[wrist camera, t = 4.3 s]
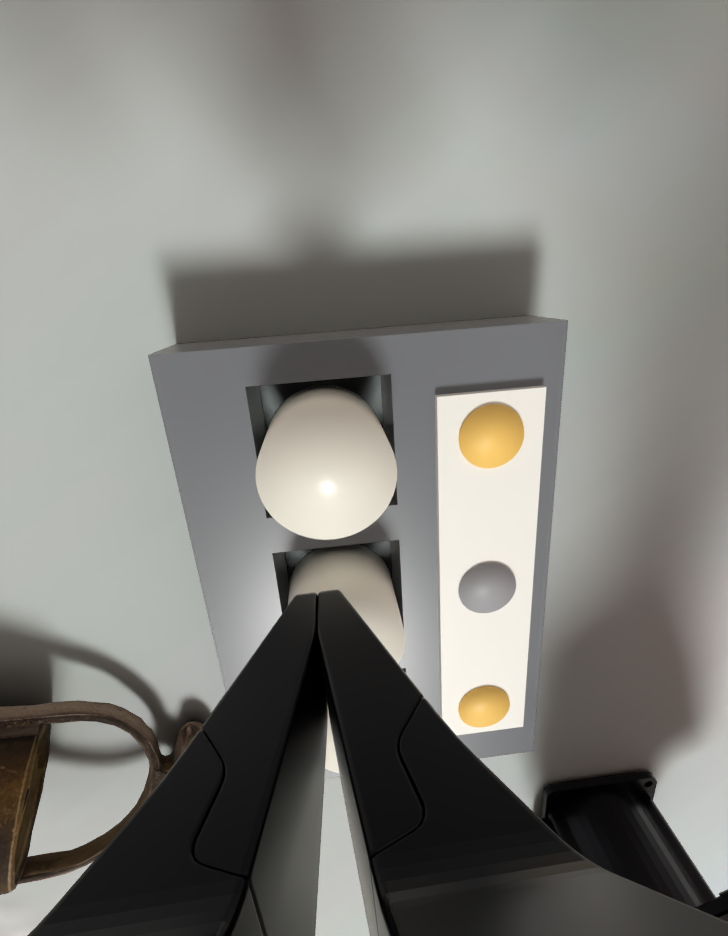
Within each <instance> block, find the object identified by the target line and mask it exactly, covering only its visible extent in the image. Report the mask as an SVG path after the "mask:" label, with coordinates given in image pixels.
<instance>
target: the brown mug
mask: <svg viewBox="0 0 728 936" xmlns="http://www.w3.org/2000/svg"><path fill="white" fill-rule="evenodd" d="M75 721H97V722H101V723H106V724H110V725H115V726H117V727H119V728H121V729H122V730H124V731H126V732H128V733H130V734H131V735H132V736H133V737H134V738H135V739H136V740H137V741H138V743H139V744H140V745H141V746H142V747H143V749H144V751H145V753H146V755H147V757H148V760H149V764H150V767H149V774H148V778H147V781H146V784H145V788H144V791H143V793H142V794H141V796H140V798H139V800H138V802H137V804H136V805H135V807H134V808H133V809H132V810H131V811H130V813H129V814H128V815H127V816H126V817H125V818H124V819H123V820H122V821H121V822H120V823H119V824H117V825H116V826H115V827H113V828H112V829H111V830H109V831H108V832H107V833H105V834H103V835H102V836H100V837H98V838H96V839H94V840H93V841H91V842H89V843H87V844H85V845H83V846H80V847H78V848H75V849H73V850H69V851H61V852H54V853H47V854H42V855H36V856H30V857H27V856H28V852H29V847H30V841H31V835H32V830H33V826H34V822H35V818H36V814H37V810H38V806H39V802H40V798H41V794H42V790H43V783H44V777H45V772H46V768H47V763H48V757H49V746H50V730H51V724H50V723H64V722H75ZM202 726H203V724H202V723H201V722H196V721H193V722H187V723H185V724H184V725H183V726H182V727H181V729H180V731H179V734H178V737H177V740H176V744H175V747H174V750H173V751H172V753H171V754H170V755H167V756H164V755H162V754H161V752H160V750H159V745H158V741H157V737H156V736H155V734H154V732H153V731H152V729H151V728H149V727H148V726H147V725H146V724H145V722H144V721H143V720H142V718H140V717H138V716H136V715H135V714H133V713H131V712H129V711H128V710H126V709H124V708H122V707H119V706H116V705H113V704H110V703H99V702H87V701H66V702H52V703H44V704H38V705H26V706H4V707H0V895H1V894H6V893H9V892H11V891H13V890H14V889H15V888H16V886H17V884H21V883H26V882H32V881H38V880H43V879H47V878H51V877H55V876H59V875H63V874H66V873H69V872H71V871H74V870H76V869H79V868H81V867H83V866H86V865H88V864H89V863H91V862H93V861H94V860H95V859H96V858H97V857H98V856H99V855H100V853H101V852H102V851H103V850H104V849H105V848H106V846H107V845H108V844H109V843H110V842H111V841H112V839H113V838H114V837H115V836H116V835H117V834H118V832H119V831H120V830H121V829H122V828H123V827H124V825H125V824H126V823H127V822H128V821H129V820H130V818H131V817H132V816H133V815H134V814H135V813H136V811H137V810H138V809H139V808H140V806H141V805H142V804H143V803H144V802H145V800H146V799H147V798H148V797H149V796H150V794H151V793H152V792H153V791H154V789H155V788H156V787H157V786H158V785H159V783H160V782H161V781H162V780H163V778H164V777H165V776H166V774H167V773H168V772H169V770H170V769H171V768H172V766H173V765H174V764H175V762H176V761H177V760H178V758H179V757H180V756H181V754H182V753H183V752H184V750H185V749H186V748H187V746H188V745H189V743H190V742H191V741H192V739H193V738H194V736H195V735H196V734H197V732H198V731H200V730H201V728H202Z"/></svg>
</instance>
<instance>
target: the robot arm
mask: <svg viewBox="0 0 728 936" xmlns="http://www.w3.org/2000/svg"><path fill="white" fill-rule="evenodd" d="M328 711H329V718H330V724H331V730H332V736H333V741H334V746H335V752H336V757H337V762H338V768H339V773H340V778H341V783H342V789H343V794H344V799H345V805H346V810H347V815H348V821H349V826H350V831H351V837H352V842H353V847H354V853H355V858H356V863H357V869H358V874H359V879H360V885H361V890H362V895H363V901H364V906H365V911H366V917H367V922H368V927H369V933H370V936H728V890H725V891H723V892H721V893H719V895H720V896H719V897H717V898H716V897H715V895H714V894H713V892H712V891H711V889H710V888H709V886H708V885H707V883H706V882H705V880H704V879H703V877H702V875H701V874H700V872H699V871H698V869H697V868H696V866H695V865H694V863H693V862H692V860H691V859H690V857H689V856H688V854H687V852H686V851H685V849H684V848H683V846H682V845H681V843H680V842H679V840H678V839H677V837H676V836H675V834H674V833H673V831H672V829H671V828H670V826H669V825H668V823H667V822H666V820H665V819H664V817H663V816H662V814H661V813H660V811H659V810H658V808H657V806H656V805H655V803H654V802H653V797H654V793H655V788H656V784H657V781H656V779H655V778H654V776H653V775H652V774H651V772H648V771H645V772H638V773H631V774H624V775H617V776H609V777H602V778H595V779H588V780H581V781H574V782H567V783H560V784H553V785H549V786H547V787H546V788H545V789H544V791H543V801H542V812H541V818H539V817H538V816H537V815H536V814H535V813H534V812H533V811H532V810H531V809H530V808H529V807H528V806H527V805H526V804H525V803H524V802H523V801H522V800H520V799H519V798H518V797H517V796H516V795H515V794H514V793H513V792H512V791H511V790H510V789H509V788H508V787H507V786H506V785H505V784H504V783H503V782H502V781H501V780H500V779H499V778H498V777H497V776H496V775H495V774H494V773H493V772H492V771H491V770H490V769H489V768H488V767H487V766H486V765H485V764H484V763H483V762H482V761H481V760H480V759H479V758H478V757H477V756H476V755H475V754H474V753H473V752H472V751H471V750H470V749H469V748H468V747H467V746H466V745H465V744H464V743H463V742H462V741H461V740H460V739H459V738H458V737H457V735H456V734H455V733H454V732H453V731H452V730H451V728H450V727H449V726H448V725H447V724H446V723H445V721H444V720H443V719H442V718H441V717H440V715H439V714H438V713H437V712H436V711H435V709H434V708H433V707H432V705H431V704H430V703H429V702H428V700H427V699H425V698H424V696H423V694H422V693H421V692H420V691H419V689H418V688H417V687H416V686H415V684H414V683H413V682H412V681H411V679H410V678H409V677H408V675H407V674H406V673H405V672H404V670H403V669H402V668H401V667H400V665H399V664H398V663H397V662H396V660H395V659H394V658H393V657H392V655H391V654H390V653H389V651H388V650H387V649H386V648H385V646H384V645H383V644H382V643H381V641H380V640H379V639H378V638H377V636H376V635H375V634H374V633H373V631H372V630H371V629H370V627H369V626H368V625H367V624H366V622H365V621H364V620H363V619H362V617H361V616H360V615H359V614H358V612H357V611H356V610H355V609H354V607H353V606H352V605H351V603H350V602H349V601H348V600H347V598H346V597H345V596H344V595H343V593H342V592H341V591H340V590H338V589H336V590H328V591H321V592H320V593H319V594H318V595H317V593H315V592H313V593H305V594H298V595H296V596H294V598H293V599H292V601H291V602H290V603H289V605H288V606H287V608H286V609H285V610H284V612H283V613H282V615H281V616H280V617H279V619H278V620H277V622H276V623H275V624H274V626H273V627H272V629H271V630H270V631H269V633H268V634H267V636H266V637H265V638H264V640H263V641H262V643H261V644H260V645H259V647H258V648H257V650H256V651H255V653H254V654H253V655H252V657H251V658H250V660H249V661H248V662H247V664H246V665H245V667H244V668H243V669H242V671H241V672H240V674H239V675H238V676H237V678H236V679H235V681H234V682H233V683H232V685H231V686H230V688H229V689H228V690H227V692H226V693H225V695H224V696H223V697H222V699H221V700H220V702H219V703H218V704H217V706H216V707H215V709H214V710H213V711H212V713H211V714H210V716H209V717H208V719H207V720H206V721H205V723H204V724H203V726H202V728H201V730H200V731H198V732H197V734H196V735H195V736H194V738H193V739H192V741H191V742H190V743H189V745H188V746H187V748H186V749H185V750H184V752H183V753H182V754H181V756H180V757H179V758H178V760H177V761H176V762H175V764H174V765H173V766H172V768H171V769H170V770H169V772H168V773H167V774H166V776H165V777H164V778H163V780H162V781H161V782H160V783H159V785H158V786H157V787H156V788H155V789H154V791H153V792H152V793H151V794H150V796H149V797H148V798H147V799H146V800H145V802H144V803H143V804H142V805H141V806H140V808H139V809H138V810H137V811H136V813H135V814H134V815H133V816H132V817H131V818H130V820H129V821H128V822H127V823H126V824H125V825H124V827H123V828H122V829H121V830H120V831H119V832H118V834H117V835H116V836H115V837H114V838H113V839H112V841H111V842H110V843H109V844H108V845H107V846H106V848H105V849H104V850H103V851H102V852H101V853H100V855H99V856H98V857H97V858H96V859H95V860H94V861H93V863H92V864H91V865H90V866H89V867H88V868H87V870H86V871H85V872H84V873H83V874H82V875H81V877H80V878H79V879H78V880H77V881H76V882H75V884H74V885H73V886H72V887H71V888H70V889H69V891H68V892H67V893H66V894H65V895H64V896H63V898H62V899H61V900H60V901H59V902H58V903H57V904H56V906H55V907H54V908H53V909H52V910H51V911H50V912H49V914H48V915H47V916H46V917H45V918H44V919H43V920H42V921H41V922H40V923H39V925H38V926H37V927H36V928H35V929H34V930H33V931H32V932H31V933H30V934H29V935H28V936H315V927H316V910H317V894H318V877H319V860H320V844H321V827H322V810H323V794H324V777H325V761H326V744H327V726H328Z"/></svg>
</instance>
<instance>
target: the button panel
mask: <svg viewBox="0 0 728 936" xmlns="http://www.w3.org/2000/svg"><path fill="white" fill-rule="evenodd" d="M567 327H568V320H560V319H553V318H545V317H537V316H529V315H528V316H516V317H504V318H491V319H479V320H467V321H455V322H442V323H430V324H418V325H405V326H393V327H381V328H369V329H356V330H344V331H332V332H319V333H307V334H295V335H283V336H270V337H258V338H246V339H234V340H221V341H209V342H197V343H184V344H175V345H173V346H170V347H168V348H165V349H162V350H160V351H157V352H155V353H152V354H150V355H148V358H149V362H150V366H151V370H152V375H153V379H154V383H155V388H156V392H157V396H158V401H159V405H160V409H161V414H162V418H163V422H164V427H165V431H166V435H167V440H168V444H169V448H170V453H171V457H172V461H173V466H174V470H175V474H176V479H177V483H178V487H179V491H180V496H181V500H182V504H183V509H184V513H185V517H186V522H187V526H188V530H189V535H190V539H191V543H192V548H193V552H194V556H195V561H196V565H197V569H198V574H199V578H200V582H201V587H202V591H203V595H204V599H205V604H206V608H207V612H208V617H209V621H210V625H211V630H212V634H213V638H214V643H215V647H216V651H217V656H218V660H219V664H220V669H221V673H222V677H223V682H224V686H225V690H226V692H227V690H228V689H229V688H230V686H231V685H232V683H233V682H234V681H235V679H236V678H237V676H238V675H239V674H240V672H241V671H242V669H243V668H244V667H245V665H246V664H247V662H248V661H249V660H250V658H251V657H252V655H253V654H254V653H255V651H256V650H257V648H258V647H259V645H260V644H261V643H262V641H263V640H264V638H265V637H266V636H267V634H268V633H269V631H270V630H271V629H272V627H273V626H274V624H275V623H276V622H277V620H278V619H279V617H280V616H281V615H282V613H283V612H284V610H285V609H286V608H287V606H288V598H289V588H290V586H289V579H288V573H287V566H286V560H285V553H284V552H289V551H298V550H307V549H316V548H326V547H335V546H344V545H354V544H363V543H372V542H381V541H390V545H391V563H392V580H393V588H394V592H395V596H396V600H397V604H398V608H399V612H400V616H401V620H402V624H403V628H404V632H405V649H404V653H403V656H402V658H401V660H400V662H399V665H400V667H401V668H402V669H403V670H404V672H405V673H406V674H407V675H408V677H409V678H410V679H411V681H412V682H413V683H414V684H415V686H416V687H417V688H418V689H419V691H420V692H421V693H422V694H423V696H424V698H425V699H427V700H428V702H429V703H430V704H431V705H432V707H433V708H434V709H435V711H436V712H437V713H438V714H439V715H440V663H439V605H438V546H437V488H436V429H435V395H441V394H452V393H463V392H474V391H486V390H497V389H508V388H519V387H530V386H541V385H543V386H545V387H546V401H545V415H544V430H543V444H542V459H541V474H540V488H539V503H538V517H537V532H536V547H535V561H534V576H533V590H532V605H531V620H530V634H529V649H528V663H527V678H526V692H525V707H524V722H523V727H517V728H509V729H502V730H494V731H487V732H479V733H472V734H464V735H457V737H458V738H459V739H460V740H461V741H462V742H463V743H464V744H465V745H466V746H467V747H468V748H469V749H470V750H471V751H472V752H473V753H474V754H475V755H476V756H477V757H478V758H485V757H492V756H500V755H507V754H514V753H522V752H529V751H533V747H534V734H535V722H536V710H537V697H538V685H539V673H540V660H541V648H542V636H543V623H544V611H545V599H546V586H547V574H548V562H549V549H550V537H551V525H552V512H553V500H554V487H555V475H556V463H557V450H558V438H559V426H560V413H561V401H562V389H563V376H564V364H565V352H566V339H567ZM376 375H381V390H382V408H383V425H384V432H385V435H386V437H387V439H388V441H389V443H390V445H391V448H392V450H393V453H394V456H395V459H396V465H397V482H396V488H395V491H394V494H393V497H392V499H391V501H390V503H389V505H388V507H387V508H386V510H385V511H384V512H383V514H382V515H381V516H380V517H379V518H378V519H377V520H376V521H375V522H374V523H372V524H371V525H370V526H368V527H367V528H365V529H364V530H362V531H360V532H358V533H356V534H353V535H351V536H347V537H344V538H339V539H329V540H322V539H313V538H308V537H304V536H301V535H298V534H296V533H294V532H292V531H290V530H288V529H287V528H285V527H283V526H282V525H281V524H280V523H278V522H277V521H276V520H275V519H274V518H273V517H272V516H271V515H270V514H269V512H268V511H267V510H266V508H265V506H264V505H263V503H262V501H261V499H260V496H259V493H258V490H257V486H256V476H255V475H256V464H257V459H258V456H259V453H260V450H261V447H262V444H263V442H264V439H265V436H266V428H265V421H264V415H263V408H262V401H261V395H260V388H259V386H261V385H273V384H284V383H296V382H307V381H319V380H330V379H342V378H353V377H365V376H376ZM338 777H340V773H336V772H332V771H329V770H327V769H325V777H324V779H331V778H338Z"/></svg>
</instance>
